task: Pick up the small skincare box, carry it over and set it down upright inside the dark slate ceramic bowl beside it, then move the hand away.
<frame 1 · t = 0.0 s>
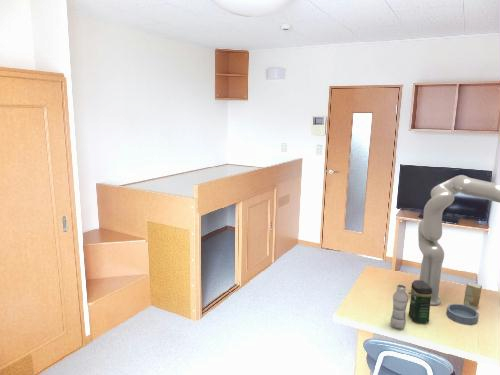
skincare box: (470, 307, 193), on the table
coffee jar: (418, 319, 182), on the table
plastic bottle: (397, 327, 175), on the table
slate bowl: (461, 317, 183), on the table
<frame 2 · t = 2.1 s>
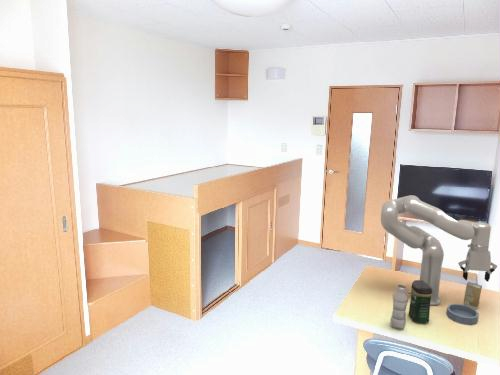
hand: (475, 279, 190), 15 cm above the table, tool pointing down, fingers open, 9 cm apart
nothing on the table moved.
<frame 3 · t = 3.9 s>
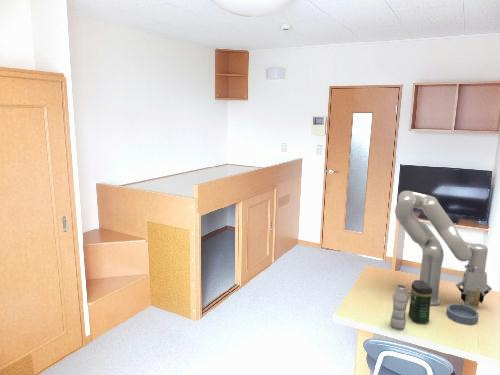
hand: (471, 300, 193), 3 cm above the table, tool pointing down, fingers closed on skincare box, 7 cm apart
skincare box: (470, 307, 193), on the table, touching gripper
everything else where it was.
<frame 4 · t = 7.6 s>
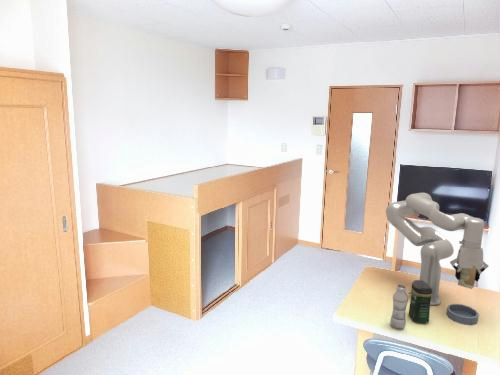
hand: (466, 279, 179), 20 cm above the table, tool pointing down, fingers closed on skincare box, 7 cm apart
skincare box: (466, 286, 180), point 16 cm above the table, touching gripper
everything else where it was.
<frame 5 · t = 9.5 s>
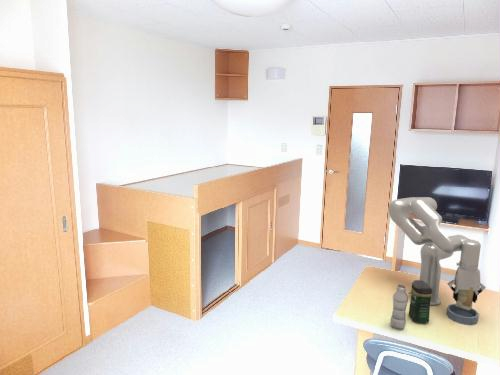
hand: (464, 300, 181), 9 cm above the table, tool pointing down, fingers closed on skincare box, 7 cm apart
skincare box: (463, 307, 182), point 5 cm above the table, touching gripper
everything else where it was.
when the fingers open (6 cm above the table, at t = 11.2 s): skincare box drops 1 cm, resting on slate bowl.
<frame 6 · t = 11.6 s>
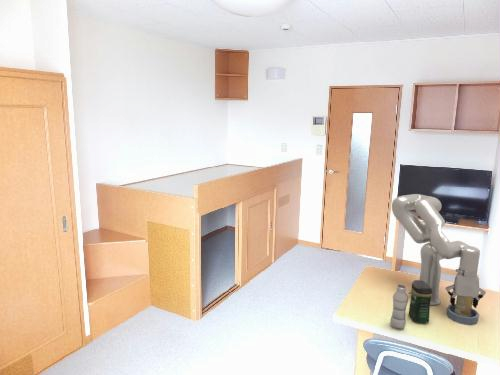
hand: (463, 305, 182), 6 cm above the table, tool pointing down, fingers open, 9 cm apart
skincare box: (462, 315, 183), point 1 cm above the table, touching slate bowl
everything else where it was.
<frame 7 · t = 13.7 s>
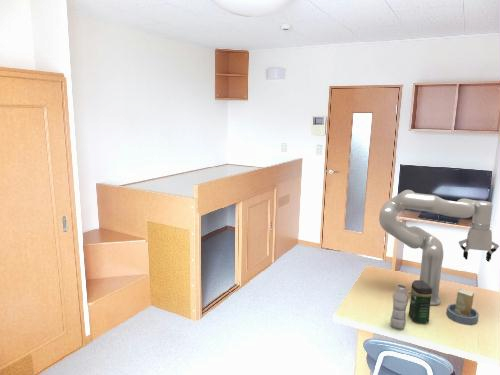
hand: (476, 259, 187), 26 cm above the table, tool pointing down, fingers open, 9 cm apart
nothing on the table moved.
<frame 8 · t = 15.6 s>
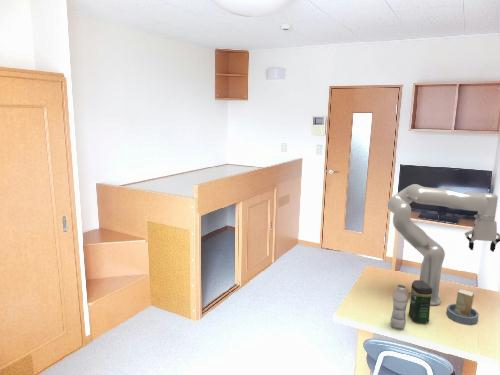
hand: (481, 250, 193), 28 cm above the table, tool pointing down, fingers open, 9 cm apart
nothing on the table moved.
at the end: skincare box 0.2 cm off-centre on the slate bowl, point 0.8 cm above the slate bowl's base; skincare box tilted 0°; the gripper is holding nothing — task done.
